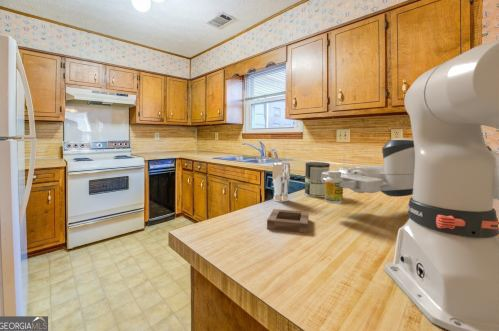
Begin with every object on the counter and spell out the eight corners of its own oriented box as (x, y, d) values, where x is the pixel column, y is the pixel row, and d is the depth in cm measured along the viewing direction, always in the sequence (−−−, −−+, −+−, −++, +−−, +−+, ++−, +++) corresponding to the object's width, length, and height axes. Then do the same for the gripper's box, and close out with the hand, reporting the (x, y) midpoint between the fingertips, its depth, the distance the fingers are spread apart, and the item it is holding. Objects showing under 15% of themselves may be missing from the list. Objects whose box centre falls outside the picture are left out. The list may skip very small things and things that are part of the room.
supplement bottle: (331, 198, 82) (333, 169, 81) (346, 202, 77) (347, 171, 76) (320, 200, 79) (321, 170, 78) (335, 204, 75) (336, 173, 73)
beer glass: (268, 199, 102) (269, 162, 101) (282, 197, 105) (283, 162, 104) (278, 203, 96) (279, 164, 94) (292, 201, 99) (293, 163, 98)
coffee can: (299, 194, 111) (300, 163, 110) (313, 191, 118) (314, 161, 116) (319, 198, 103) (320, 165, 102) (333, 195, 110) (334, 163, 108)
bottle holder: (307, 232, 67) (307, 223, 66) (266, 228, 69) (267, 220, 69) (308, 219, 77) (308, 211, 77) (273, 216, 80) (273, 209, 80)
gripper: (391, 195, 75) (360, 200, 68) (337, 183, 93) (309, 187, 86) (392, 174, 74) (361, 178, 68) (338, 167, 92) (310, 169, 86)
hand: (332, 183), depth 77 cm, fingers closed on supplement bottle, 5 cm apart
